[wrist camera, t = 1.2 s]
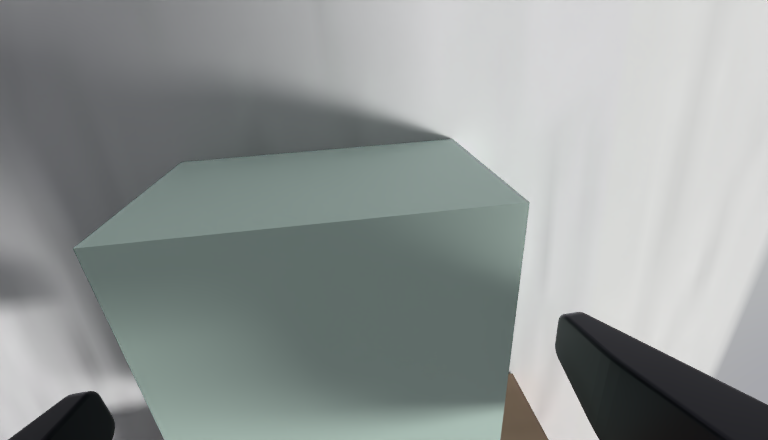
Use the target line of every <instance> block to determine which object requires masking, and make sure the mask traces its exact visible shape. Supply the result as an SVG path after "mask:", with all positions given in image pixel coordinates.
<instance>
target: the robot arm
mask: <svg viewBox="0 0 768 440" xmlns="http://www.w3.org/2000/svg"><path fill="white" fill-rule="evenodd" d="M555 349H556V353H557V356H558V358H559V361H560V363H561V365H562V367H563V369H564V371H565V373H566V375H567V377H568V379H569V381H570V383H571V385H572V387H573V389H574V391H575V393H576V395H577V397H578V399H579V401H580V403H581V406H582V408H583V410H584V412H585V414H586V416H587V418H588V420H589V422H590V424H591V425H592V427H593V429H594V431H595V433H596V435H597V436H598V438H599V440H768V405H767V404H765V403H763V402H761V401H759V400H757V399H755V398H753V397H751V396H749V395H747V394H745V393H743V392H741V391H739V390H737V389H735V388H733V387H731V386H729V385H727V384H725V383H723V382H721V381H719V380H717V379H715V378H713V377H711V376H709V375H707V374H705V373H703V372H701V371H699V370H697V369H695V368H693V367H691V366H689V365H687V364H685V363H683V362H681V361H679V360H677V359H675V358H673V357H671V356H669V355H667V354H665V353H663V352H661V351H659V350H657V349H655V348H653V347H651V346H649V345H647V344H645V343H643V342H641V341H639V340H637V339H635V338H633V337H631V336H629V335H627V334H625V333H623V332H621V331H619V330H617V329H615V328H613V327H611V326H609V325H607V324H605V323H603V322H601V321H599V320H597V319H595V318H593V317H591V316H589V315H587V314H585V313H582V312H575V313H569V314H563V315H561V316H560V318H559V321H558V328H557V335H556V342H555ZM114 430H115V422H114V418H113V417H112V415H111V413H110V412H109V410H108V408H107V407H106V405H105V403H104V402H103V400H102V398H101V397H100V395H99V394H98V393H96V392H94V391H88V392H82V393H76V394H72V395H69V396H67V397H65V398H64V399H62V400H61V401H60V402H58V403H57V404H56V405H54V406H53V407H51V408H50V409H49V410H47V411H46V412H45V413H43V414H42V415H41V416H39V417H38V418H37V419H35V420H34V421H33V422H31V423H30V424H29V425H27V426H26V427H25V428H23V429H22V430H21V431H19V432H18V433H17V434H15V435H14V436H13V437H11V438H10V439H9V440H112V438H113V435H114Z"/></svg>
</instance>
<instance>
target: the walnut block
mask: <svg viewBox="0 0 768 440" xmlns="http://www.w3.org/2000/svg"><path fill="white" fill-rule="evenodd" d="M500 440H548V438H547V436H546V434H545V433H544V431H543V429H542V427H541V425H540V423H539V422H538V420H537V418H536V416H535V414H534V412H533V410H532V409H531V407H530V405H529V403H528V401H527V399H526V398H525V396H524V394H523V392H522V390H521V388H520V387H519V385H518V383H517V381H516V379H515V377H514V375H513V374H508V381H507V390H506V398H505V406H504V414H503V422H502V430H501V439H500Z"/></svg>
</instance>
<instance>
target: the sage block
mask: <svg viewBox="0 0 768 440" xmlns="http://www.w3.org/2000/svg"><path fill="white" fill-rule="evenodd" d="M528 210H529V201H527V200H526V199H525V198H524V197H522V196H521V195H520V194H519V193H518V192H516V191H515V190H514V189H513V188H512V187H510V186H509V185H508V184H507V183H505V182H504V181H503V180H502V179H501V178H499V177H498V176H497V175H496V174H495V173H493V172H492V171H491V170H490V169H488V168H487V167H486V166H485V165H484V164H482V163H481V162H480V161H479V160H478V159H476V158H475V157H474V156H473V155H471V154H470V153H469V152H468V151H467V150H465V149H464V148H463V147H462V146H461V145H459V144H458V143H457V142H456V141H454V140H453V139H444V140H433V141H421V142H409V143H398V144H386V145H374V146H363V147H351V148H339V149H328V150H316V151H304V152H293V153H281V154H270V155H258V156H246V157H235V158H223V159H211V160H200V161H188V162H181V163H180V164H178V165H177V166H176V167H175V168H173V169H172V170H171V171H170V172H168V173H167V174H166V175H165V176H163V177H162V178H161V179H160V180H158V181H157V182H156V183H155V184H153V185H152V186H151V187H150V188H148V189H147V190H146V191H145V192H143V193H142V194H141V195H140V196H138V197H137V198H136V199H135V200H133V201H132V202H131V203H129V204H128V205H127V206H126V207H124V208H123V209H122V210H121V211H119V212H118V213H117V214H116V215H114V216H113V217H112V218H111V219H109V220H108V221H107V222H106V223H104V224H103V225H102V226H101V227H99V228H98V229H97V230H96V231H94V232H93V233H92V234H91V235H89V236H88V237H87V238H86V239H84V240H83V241H82V242H81V243H79V244H78V245H77V246H75V247H74V248H73V250H74V252H75V254H76V256H77V258H78V260H79V262H80V264H81V267H82V269H83V271H84V273H85V275H86V277H87V279H88V281H89V283H90V285H91V288H92V290H93V292H94V294H95V296H96V298H97V300H98V302H99V304H100V306H101V308H102V311H103V313H104V315H105V317H106V319H107V321H108V323H109V325H110V327H111V329H112V332H113V334H114V336H115V338H116V340H117V342H118V344H119V346H120V348H121V350H122V353H123V355H124V357H125V359H126V361H127V363H128V365H129V367H130V369H131V371H132V374H133V376H134V378H135V380H136V382H137V384H138V386H139V388H140V390H141V392H142V395H143V397H144V399H145V401H146V403H147V405H148V407H149V409H150V411H151V413H152V415H153V418H154V420H155V422H156V424H157V426H158V428H159V430H160V432H161V434H162V436H163V439H164V440H500V439H501V430H502V422H503V414H504V406H505V398H506V390H507V381H508V373H509V365H510V357H511V349H512V341H513V332H514V324H515V316H516V308H517V300H518V292H519V284H520V275H521V267H522V259H523V251H524V243H525V235H526V226H527V218H528Z"/></svg>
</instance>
